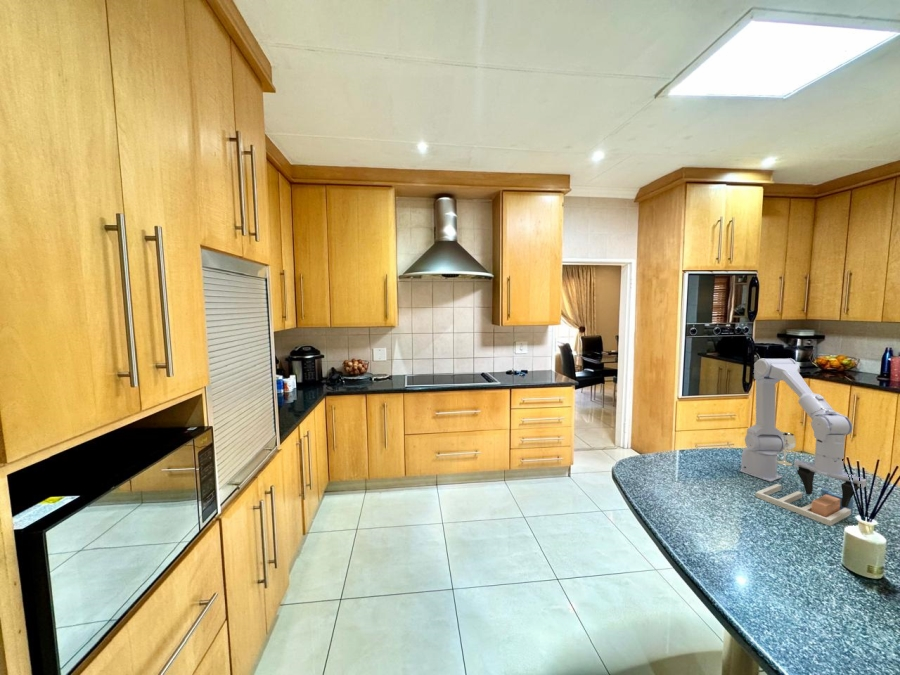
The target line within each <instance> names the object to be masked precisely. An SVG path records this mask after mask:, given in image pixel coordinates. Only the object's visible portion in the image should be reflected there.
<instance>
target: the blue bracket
mask: <svg viewBox="0 0 900 675" xmlns="http://www.w3.org/2000/svg"><path fill="white" fill-rule="evenodd" d="M820 492H821V497H822V496H824V495H826V494H827V495H830V496H833V497H836V498H839V499H840V510H841V509H843V508H848V509H851V515H852V514H854V511H853V510H854V497H852V498H851V500H850V502H849V505H848V506H847V507H842V504H841V503H842V495H839V494H835V493H834V492H833V493H832V492H830V490H829V489H827V488H824V487H823V488H821V489H820Z"/></svg>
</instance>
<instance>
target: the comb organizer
mask: <svg viewBox="0 0 900 675" xmlns="http://www.w3.org/2000/svg"><path fill="white" fill-rule="evenodd" d="M781 490H782V484H780V483H776V484H772V485H771V486H768V487H765V488H763V489H761V490H758V491H755V498H758V499H759V500H762V501H764V502H768V503H771V504H773V505H775V506H778V507H781V508H784V509H785V510H788V511H791V512H793V513H795V512H796V514H799V515H801V516H803V517H806V518H807V519H808V518H809V519H810V520H814V521H815V522H819V523H821V524H823V525H826V526H829V527H831V526H833V525H835V524H837V523H839V522H840V521H842V520H844V519H846V518H848V517H849V516H851V515H852V514H851V509H848V508H843V509H841V510H840V511H838V512H836V513H834V514H832V515H830V516H828V517H823V516H821V515H818V514H816V513H813V512H811V510H812V502H811V503H809V504H807V505H805V506H802V507H800V506H796V505H794V504H791V503H793V502H795V501H797V500H801V499H802V498H803V491H799V490H796V491H794V492H792V493H790V494H788V495H785V496H783V497H781V498H776V497H773V496H770V495H772V494H775V493H777V492H779V491H781Z"/></svg>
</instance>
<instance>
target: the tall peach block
mask: <svg viewBox="0 0 900 675" xmlns="http://www.w3.org/2000/svg"><path fill="white" fill-rule="evenodd" d="M811 503H812V510H811V512H813V513H816V514H818V515H821V516H823V517H828V516H830V515H832V514H834V513H836V512H838V511H840V499H839V498H836V497H833V496H830V495H827V494H826V495H824V496H822V495H821V496H820V497H818V498H816V499H813V500H812V501H811Z"/></svg>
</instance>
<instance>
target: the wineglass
mask: <svg viewBox="0 0 900 675" xmlns="http://www.w3.org/2000/svg"><path fill="white" fill-rule="evenodd" d="M781 432H782V433H783V440H784V442H785V448H784V450H783V451H782V453H783V460H777V464H779V465H782V466H791V467H792V466H793V463H791V462H788V461H787V460H786V456H787V452H788V451H790V450H794V449H795V448H796V444H797V441H796V437H795V434H794V433H791V432H787V431H781Z"/></svg>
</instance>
